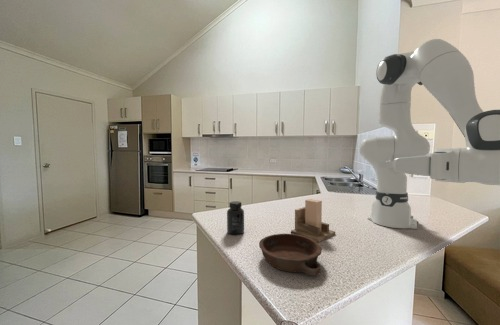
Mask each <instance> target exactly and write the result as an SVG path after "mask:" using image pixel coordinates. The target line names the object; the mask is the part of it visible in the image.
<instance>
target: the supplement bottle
mask: <svg viewBox="0 0 500 325" xmlns="http://www.w3.org/2000/svg"><path fill="white" fill-rule="evenodd" d="M228 204H229V206H228V207H229V208H228V209H227V211H226V224H227V225H226V232H227V234H228V235H231V236H239V235H242V234H243V233H244V232H245V210H244V209H243V208H242V206H243V205H242V201H239V200H237V201H235V200H234V201H230V202H229V203H228Z"/></svg>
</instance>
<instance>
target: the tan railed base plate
mask: <svg viewBox="0 0 500 325" xmlns="http://www.w3.org/2000/svg"><path fill="white" fill-rule="evenodd" d="M290 234H296V235H301V236H305V237H308V238H310V239H312V240H314V241H315V242H317V243H318V244H319V243H320V242H323V241H324V240H326V239H329V238H330V237H332V236H335V235H336V231H334V230H331V229H330V223H326V222H323V221H322V222H321V232H320V228H319V227H315V226H312V225H308V224H305V206H303V207H299V208H296V209H294V229H291V230H290Z"/></svg>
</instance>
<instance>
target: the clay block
mask: <svg viewBox="0 0 500 325" xmlns="http://www.w3.org/2000/svg"><path fill="white" fill-rule="evenodd" d="M304 202H305V203H304V204H305V206H304V207H305V224H308V225H312V226H315V227H319V228H320V232H321V222H323V221H322V219H323V218H322V215H323V210H322V207H323V206H322V205H323V204H322V203H323V200H318V199H313V198H307V199H305V201H304Z"/></svg>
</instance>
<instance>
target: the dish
mask: <svg viewBox="0 0 500 325" xmlns="http://www.w3.org/2000/svg"><path fill="white" fill-rule="evenodd" d="M258 246H259V248H260V250H261V252H262V255H263V258H264V261H266V263H268V264H269V265H270V266H272V267H273V268H276V269H278V270H281V271H283V272H289V273H304V274H306V275H308V276H312V277H317V276H319V275H320V273H321V266H320V263H319V262H318V258H319V256H320V255H321V254H322V253H323V252H322V251H323V248H322V247H321V245H320V244H319V243H318V242H316V241H314V240H312V239H310V238H308V237H305V236H301V235H296V234H293V233H277V234H270V235H267V236H265V237H263V238H262V239H260V240H259V243H258Z"/></svg>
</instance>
